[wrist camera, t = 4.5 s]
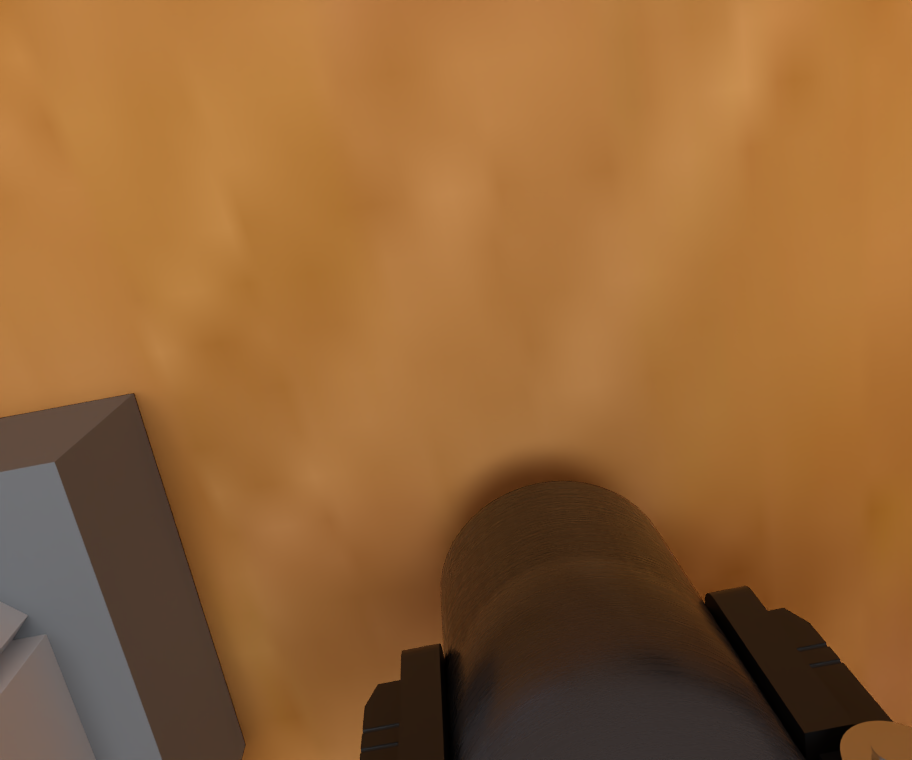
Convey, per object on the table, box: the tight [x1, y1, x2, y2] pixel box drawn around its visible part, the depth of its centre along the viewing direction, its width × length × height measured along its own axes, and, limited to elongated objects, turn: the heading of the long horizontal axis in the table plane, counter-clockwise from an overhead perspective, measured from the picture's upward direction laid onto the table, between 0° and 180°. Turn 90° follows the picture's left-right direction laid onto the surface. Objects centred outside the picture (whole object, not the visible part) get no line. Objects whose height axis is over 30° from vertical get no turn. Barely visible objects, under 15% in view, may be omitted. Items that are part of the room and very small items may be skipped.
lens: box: [441, 481, 806, 760], centre depth 12 cm, size 5×5×9 cm
